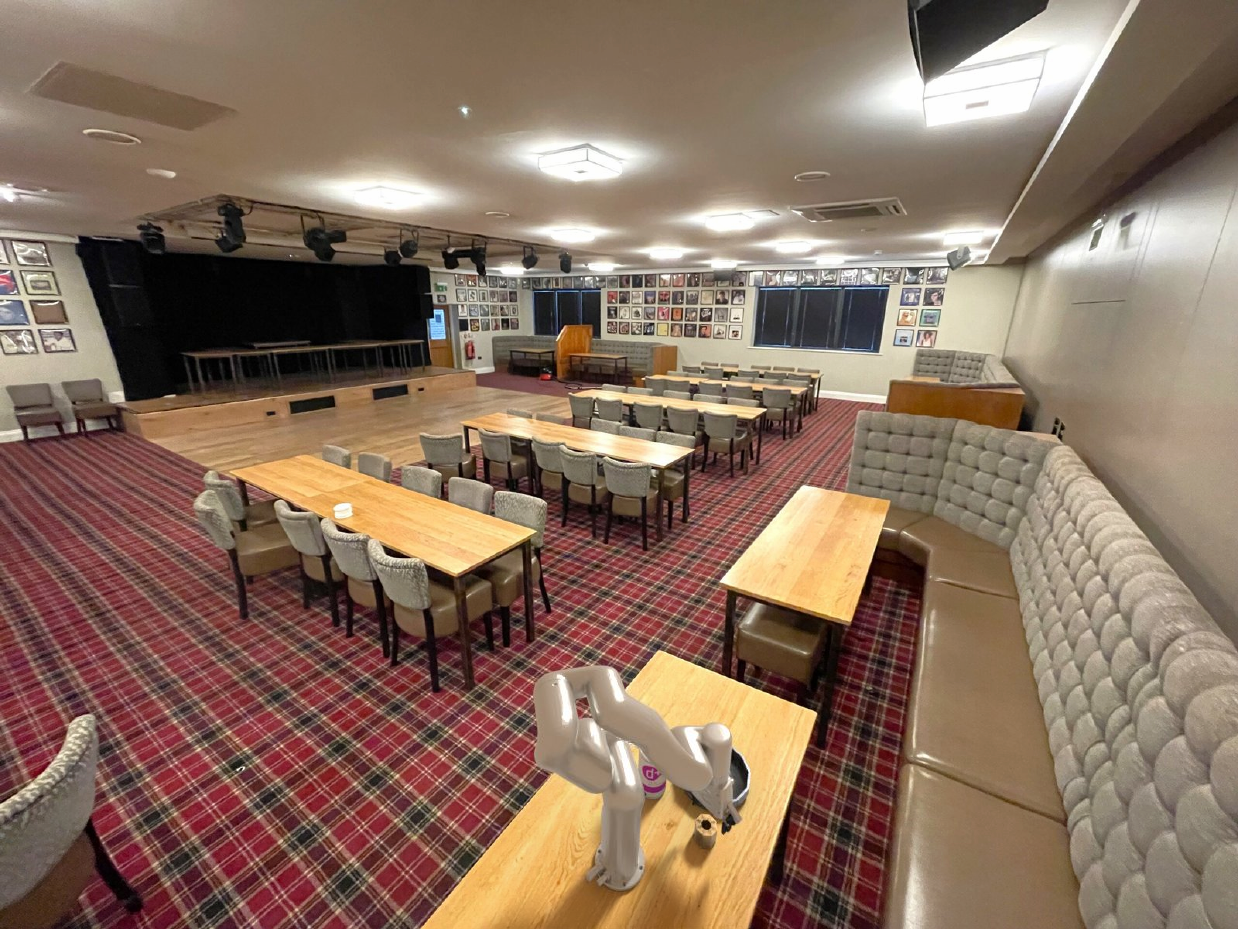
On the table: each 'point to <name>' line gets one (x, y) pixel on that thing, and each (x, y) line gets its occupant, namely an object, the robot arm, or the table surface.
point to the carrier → (736, 779)
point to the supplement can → (651, 778)
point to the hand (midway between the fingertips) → (710, 815)
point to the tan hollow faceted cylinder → (705, 831)
